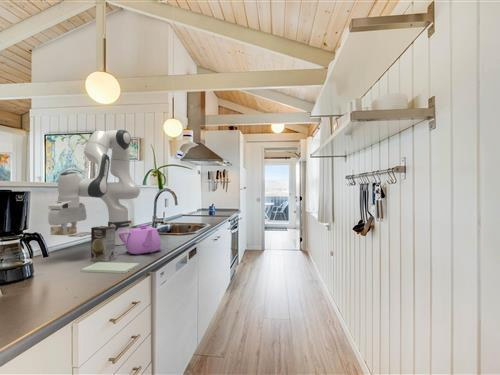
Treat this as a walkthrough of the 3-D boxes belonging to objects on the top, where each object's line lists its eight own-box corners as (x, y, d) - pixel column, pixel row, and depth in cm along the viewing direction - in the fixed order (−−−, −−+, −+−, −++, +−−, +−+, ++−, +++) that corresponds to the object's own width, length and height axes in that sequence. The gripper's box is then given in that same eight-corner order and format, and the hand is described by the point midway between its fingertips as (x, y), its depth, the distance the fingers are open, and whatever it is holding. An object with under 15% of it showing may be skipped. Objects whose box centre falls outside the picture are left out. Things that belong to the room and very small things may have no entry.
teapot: (115, 252, 144) (115, 224, 144) (154, 247, 157) (154, 221, 157) (124, 261, 126) (124, 230, 126) (167, 254, 138) (167, 226, 138)
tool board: (98, 264, 121) (98, 262, 121) (139, 265, 119) (139, 263, 119) (80, 271, 110) (80, 269, 110) (125, 273, 108) (125, 270, 108)
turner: (45, 236, 128) (45, 228, 128) (59, 233, 136) (59, 225, 136) (81, 236, 126) (81, 228, 126) (93, 233, 134) (93, 225, 134)
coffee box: (90, 260, 127) (90, 227, 127) (101, 257, 133) (101, 225, 133) (105, 262, 124) (105, 228, 124) (115, 258, 130) (115, 226, 130)
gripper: (78, 202, 141) (79, 228, 141) (45, 205, 121) (45, 235, 121) (89, 202, 141) (89, 228, 141) (57, 205, 120) (58, 235, 120)
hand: (69, 231), depth 131 cm, fingers closed on turner, 2 cm apart
